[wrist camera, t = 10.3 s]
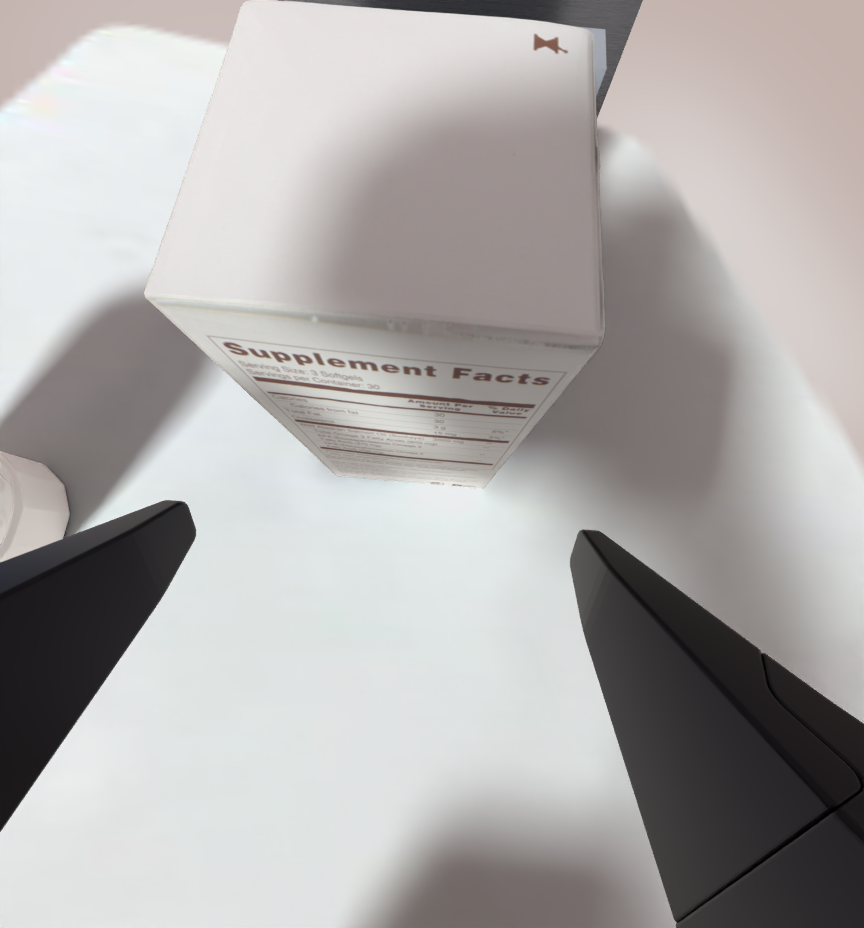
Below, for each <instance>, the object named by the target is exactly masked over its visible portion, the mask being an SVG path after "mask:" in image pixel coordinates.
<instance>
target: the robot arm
mask: <svg viewBox="0 0 864 928" xmlns="http://www.w3.org/2000/svg"><path fill="white" fill-rule="evenodd" d="M195 537H196V528H195V525H194V522H193V519H192V516H191V513H190V510H189V507H188V505H187V504H186V503H185V502H183V501H172V500H165V501H161V502H159V503H156V504H154V505H151V506H148V507H146V508H143V509H140V510H138V511H135V512H132V513H130V514H127V515H124V516H122V517H119V518H116V519H114V520H111V521H109V522H106V523H103V524H101V525H98V526H95V527H93V528H90V529H87V530H85V531H82V532H79V533H77V534H74V535H72V536H69V537H66V538H64V539H61V540H58V541H56V542H53V543H50V544H48V545H45V546H42V547H40V548H37V549H34V550H32V551H29V552H27V553H24V554H21V555H19V556H16V557H13V558H11V559H8V560H5V561H3V562H0V832H1V830H2V829H3V827H4V826H5V825H6V823H7V822H8V820H9V819H10V817H11V816H12V814H13V813H14V812H15V810H16V809H17V807H18V806H19V804H20V803H21V801H22V800H23V799H24V797H25V796H26V794H27V793H28V791H29V790H30V788H31V787H32V785H33V784H34V783H35V781H36V780H37V778H38V777H39V775H40V774H41V772H42V771H43V770H44V768H45V767H46V765H47V764H48V762H49V761H50V759H51V758H52V757H53V755H54V754H55V752H56V751H57V749H58V748H59V746H60V745H61V744H62V742H63V741H64V739H65V738H66V736H67V735H68V733H69V732H70V731H71V729H72V728H73V726H74V725H75V723H76V722H77V720H78V719H79V718H80V716H81V715H82V713H83V712H84V710H85V709H86V707H87V706H88V705H89V703H90V702H91V700H92V699H93V697H94V696H95V694H96V693H97V692H98V690H99V689H100V687H101V686H102V684H103V683H104V681H105V680H106V678H107V677H108V676H109V674H110V673H111V671H112V670H113V668H114V667H115V665H116V664H117V663H118V661H119V660H120V658H121V657H122V655H123V654H124V652H125V651H126V650H127V648H128V647H129V645H130V644H131V642H132V641H133V639H134V638H135V637H136V635H137V634H138V632H139V631H140V629H141V628H142V626H143V625H144V624H145V622H146V621H147V619H148V618H149V616H150V615H151V613H152V612H153V611H154V609H155V608H156V606H157V605H158V603H159V602H160V600H161V598H162V597H163V595H164V593H165V592H166V590H167V588H168V587H169V585H170V583H171V581H172V579H173V578H174V576H175V574H176V572H177V570H178V569H179V567H180V565H181V563H182V561H183V560H184V558H185V556H186V554H187V552H188V551H189V549H190V547H191V545H192V544H193V542H194V540H195ZM570 567H571V573H572V578H573V583H574V588H575V593H576V598H577V603H578V608H579V613H580V619H581V623H582V628H583V632H584V635H585V639H586V642H587V645H588V649H589V652H590V655H591V658H592V661H593V664H594V667H595V671H596V674H597V677H598V680H599V683H600V686H601V690H602V693H603V696H604V699H605V702H606V705H607V709H608V712H609V715H610V718H611V721H612V724H613V728H614V731H615V734H616V737H617V740H618V743H619V747H620V750H621V753H622V756H623V759H624V762H625V765H626V769H627V772H628V775H629V778H630V781H631V784H632V788H633V791H634V794H635V797H636V800H637V803H638V807H639V810H640V813H641V816H642V819H643V822H644V826H645V829H646V832H647V835H648V838H649V841H650V844H651V848H652V851H653V854H654V857H655V860H656V863H657V867H658V870H659V873H660V876H661V879H662V882H663V886H664V889H665V892H666V895H667V898H668V901H669V905H670V908H671V911H672V914H673V917H674V920H675V921H676V922H677V924H676V928H864V724H863V723H862V722H860V721H859V720H858V719H856V718H855V717H853V716H852V715H850V714H849V713H847V712H846V711H844V710H843V709H841V708H840V707H839V706H837V705H836V704H834V703H833V702H831V701H830V700H828V699H827V698H826V697H824V696H823V695H821V694H820V693H819V692H817V691H816V690H814V689H813V688H812V687H810V686H809V685H808V684H806V683H805V682H803V681H802V680H801V679H799V678H798V677H796V676H795V675H794V674H792V673H791V672H790V671H788V670H787V669H785V668H784V667H783V666H781V665H780V664H779V663H777V662H776V661H775V660H773V659H772V658H771V657H769V656H768V655H767V654H765V653H761V651H760V650H759V649H758V648H757V647H756V646H754V645H753V644H752V643H750V642H749V641H748V640H746V639H745V638H743V637H742V636H741V635H739V634H738V633H737V632H735V631H734V630H733V629H731V628H730V627H729V626H727V625H726V624H725V623H723V622H722V621H721V620H719V619H718V618H716V617H715V616H714V615H712V614H711V613H710V612H708V611H707V610H706V609H704V608H703V607H702V606H700V605H699V604H698V603H696V602H695V601H694V600H692V599H691V598H689V597H688V596H687V595H685V594H684V593H683V592H681V591H680V590H679V589H677V588H676V587H675V586H673V585H672V584H671V583H669V582H668V581H667V580H665V579H664V578H662V577H661V576H660V575H658V574H657V573H656V572H654V571H653V570H652V569H650V568H649V567H648V566H646V565H645V564H644V563H642V562H641V561H639V560H638V559H637V558H635V557H634V556H633V555H631V554H630V553H629V552H627V551H626V550H625V549H623V548H622V547H621V546H619V545H618V544H617V543H615V542H614V541H612V540H611V539H610V538H608V537H607V536H606V535H604V534H603V533H602V532H600V531H596V530H581V531H579V533H578V535H577V538H576V541H575V545H574V548H573V551H572V554H571V558H570Z"/></svg>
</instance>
